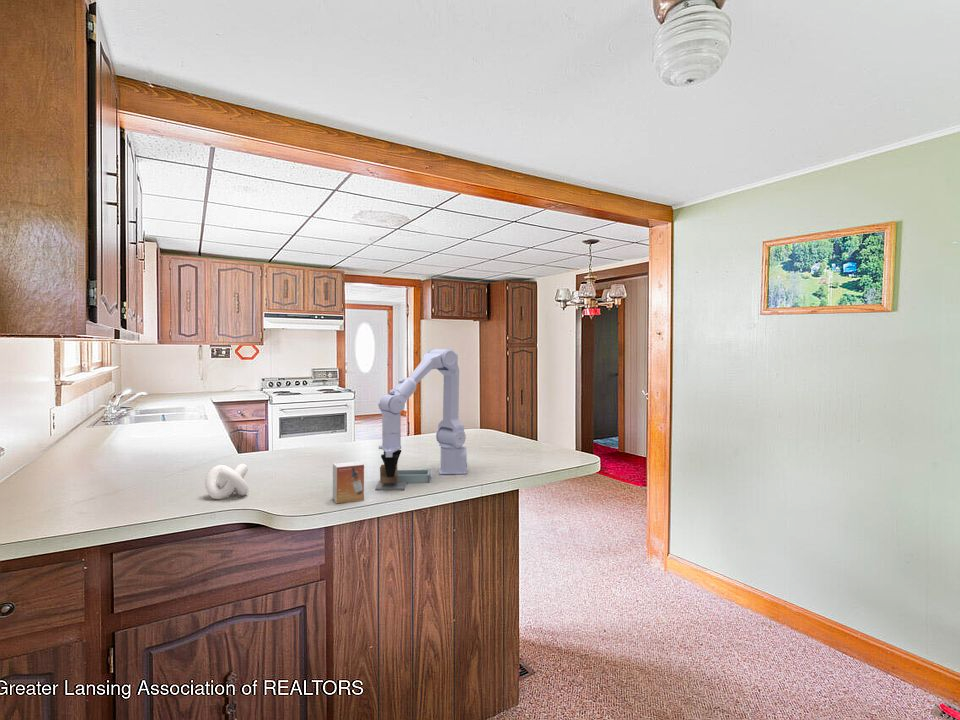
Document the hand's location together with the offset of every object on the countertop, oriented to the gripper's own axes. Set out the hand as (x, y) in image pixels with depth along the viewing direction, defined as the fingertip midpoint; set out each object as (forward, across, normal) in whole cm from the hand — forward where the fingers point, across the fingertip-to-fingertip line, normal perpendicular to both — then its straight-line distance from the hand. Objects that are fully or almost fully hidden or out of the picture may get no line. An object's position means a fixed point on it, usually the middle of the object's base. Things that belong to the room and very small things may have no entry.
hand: (391, 474), depth 157 cm
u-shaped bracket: (+4, -7, +4) cm, 9 cm away
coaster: (+4, 0, 0) cm, 4 cm away
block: (+2, 0, -1) cm, 2 cm away
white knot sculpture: (+4, +8, -46) cm, 47 cm away
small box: (+4, +13, -11) cm, 17 cm away
